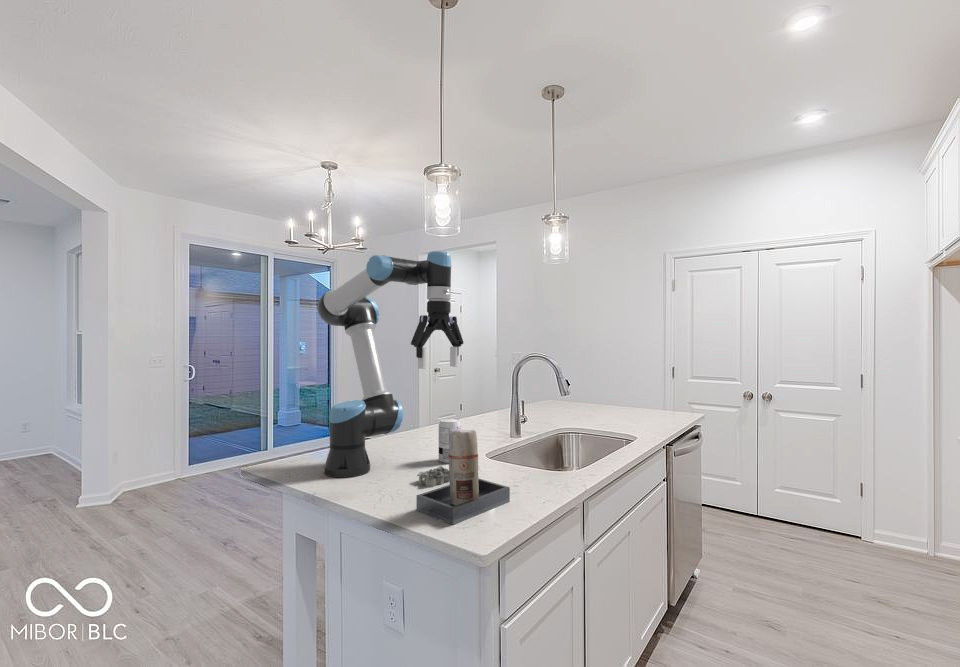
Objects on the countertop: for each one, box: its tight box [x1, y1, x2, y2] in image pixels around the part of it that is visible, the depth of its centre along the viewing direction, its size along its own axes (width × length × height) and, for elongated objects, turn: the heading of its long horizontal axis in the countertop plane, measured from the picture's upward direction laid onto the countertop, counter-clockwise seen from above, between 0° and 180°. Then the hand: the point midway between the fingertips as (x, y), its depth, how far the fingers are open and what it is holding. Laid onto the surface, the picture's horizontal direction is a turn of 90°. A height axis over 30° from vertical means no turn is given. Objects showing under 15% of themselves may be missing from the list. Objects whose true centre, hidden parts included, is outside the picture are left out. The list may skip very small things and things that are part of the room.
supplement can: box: [438, 418, 462, 464], centre depth 173 cm, size 8×8×15 cm
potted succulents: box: [416, 465, 450, 488], centre depth 148 cm, size 11×8×4 cm
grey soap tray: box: [415, 477, 511, 526], centre depth 127 cm, size 22×14×4 cm, turn 137°
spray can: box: [448, 428, 480, 506], centre depth 127 cm, size 8×8×20 cm
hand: (438, 367), depth 148 cm, fingers open, 13 cm apart
